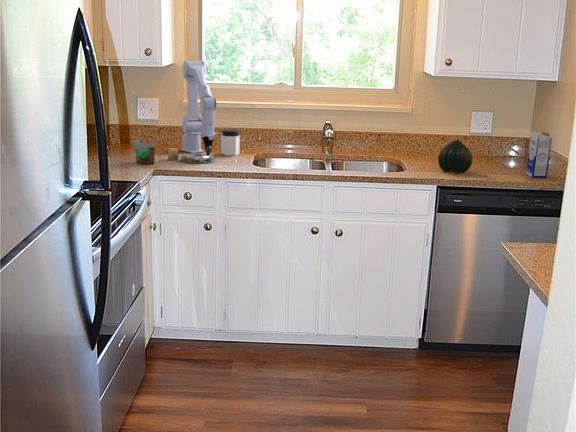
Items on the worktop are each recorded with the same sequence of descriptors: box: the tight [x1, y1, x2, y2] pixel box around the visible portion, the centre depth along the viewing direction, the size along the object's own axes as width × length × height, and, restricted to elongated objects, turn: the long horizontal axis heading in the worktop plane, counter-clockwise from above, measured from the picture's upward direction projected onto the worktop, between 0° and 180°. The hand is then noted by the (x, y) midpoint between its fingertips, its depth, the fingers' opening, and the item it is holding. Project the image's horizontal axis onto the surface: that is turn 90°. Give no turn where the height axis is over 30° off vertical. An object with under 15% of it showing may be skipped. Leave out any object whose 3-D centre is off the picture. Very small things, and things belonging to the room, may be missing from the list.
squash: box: [437, 139, 473, 175], centre depth 297 cm, size 14×15×15 cm
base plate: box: [180, 158, 216, 165], centre depth 304 cm, size 16×16×1 cm
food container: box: [133, 138, 157, 166], centre depth 292 cm, size 12×6×10 cm, turn 47°
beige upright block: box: [167, 147, 179, 162], centre depth 304 cm, size 3×3×5 cm
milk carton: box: [525, 130, 553, 179], centre depth 291 cm, size 7×7×20 cm
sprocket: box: [180, 146, 215, 162], centre depth 304 cm, size 15×15×6 cm
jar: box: [220, 128, 241, 157], centre depth 321 cm, size 9×8×12 cm
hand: (208, 152), depth 307 cm, fingers closed, pressing on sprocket
